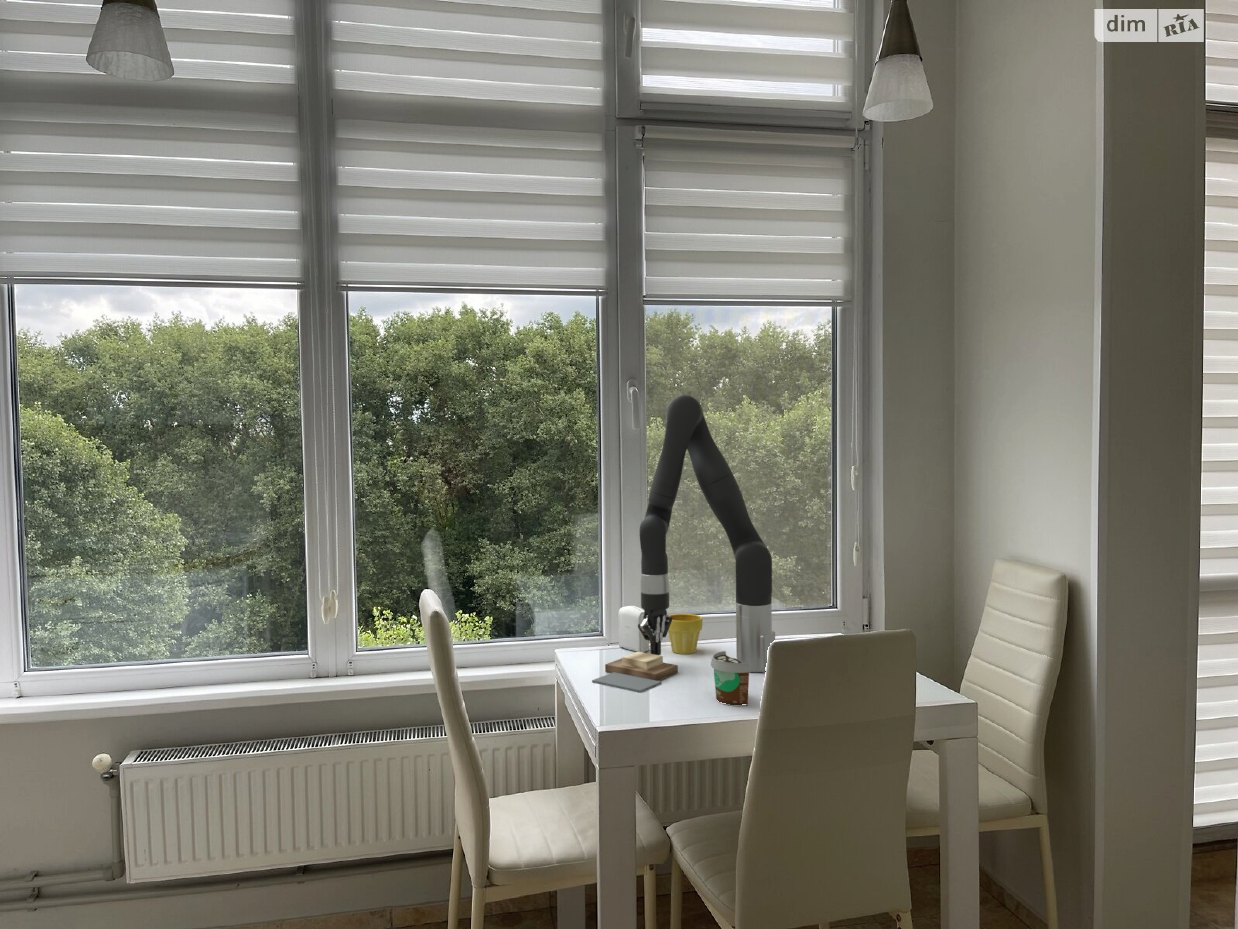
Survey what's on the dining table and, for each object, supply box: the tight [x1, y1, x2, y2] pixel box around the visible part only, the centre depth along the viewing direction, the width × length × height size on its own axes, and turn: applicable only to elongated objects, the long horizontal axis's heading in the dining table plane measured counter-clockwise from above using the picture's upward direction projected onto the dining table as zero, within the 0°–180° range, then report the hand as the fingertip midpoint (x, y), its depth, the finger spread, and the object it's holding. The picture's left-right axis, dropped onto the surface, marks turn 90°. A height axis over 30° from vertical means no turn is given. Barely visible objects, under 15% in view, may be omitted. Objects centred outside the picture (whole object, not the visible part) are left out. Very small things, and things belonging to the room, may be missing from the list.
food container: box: [710, 650, 752, 706], centre depth 197 cm, size 12×6×10 cm, turn 21°
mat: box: [591, 672, 663, 694], centre depth 213 cm, size 15×9×1 cm, turn 52°
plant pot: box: [667, 613, 703, 655], centre depth 243 cm, size 10×10×10 cm
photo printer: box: [617, 605, 650, 653], centre depth 246 cm, size 10×4×12 cm, turn 39°
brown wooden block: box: [604, 658, 679, 681], centre depth 222 cm, size 16×10×2 cm, turn 52°
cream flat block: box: [621, 651, 664, 670], centre depth 222 cm, size 8×7×2 cm
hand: (655, 655), depth 227 cm, fingers closed
